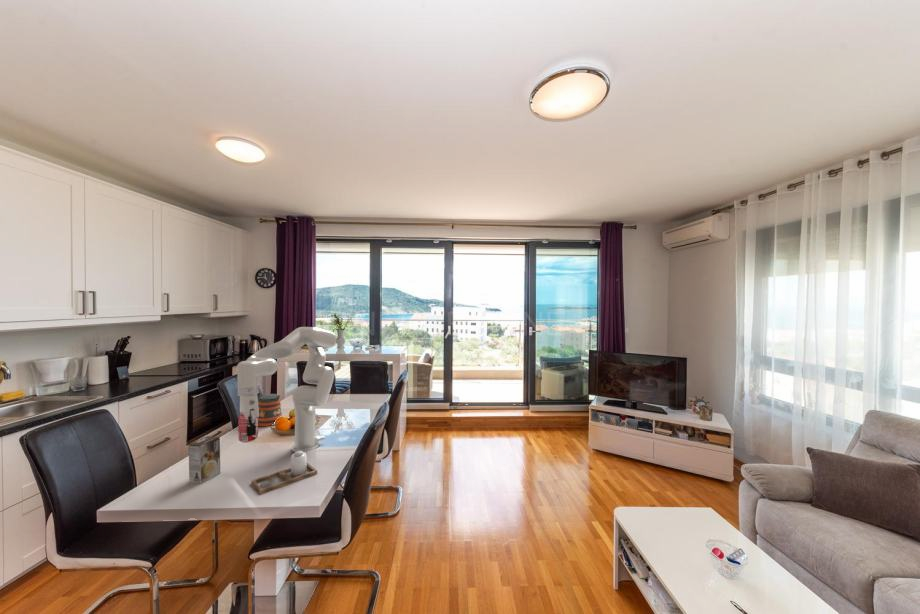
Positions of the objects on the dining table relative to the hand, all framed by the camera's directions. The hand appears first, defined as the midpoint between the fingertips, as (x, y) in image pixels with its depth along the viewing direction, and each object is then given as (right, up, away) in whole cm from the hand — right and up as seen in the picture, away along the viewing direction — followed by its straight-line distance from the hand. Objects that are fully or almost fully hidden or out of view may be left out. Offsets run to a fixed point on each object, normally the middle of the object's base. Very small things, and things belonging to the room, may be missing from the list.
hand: (248, 432), depth 146 cm
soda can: (0, -4, 0) cm, 4 cm away
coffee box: (-19, -20, +1) cm, 27 cm away
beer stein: (-31, -19, +68) cm, 77 cm away
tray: (+17, -20, -2) cm, 26 cm away
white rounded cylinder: (+20, -18, +2) cm, 27 cm away
